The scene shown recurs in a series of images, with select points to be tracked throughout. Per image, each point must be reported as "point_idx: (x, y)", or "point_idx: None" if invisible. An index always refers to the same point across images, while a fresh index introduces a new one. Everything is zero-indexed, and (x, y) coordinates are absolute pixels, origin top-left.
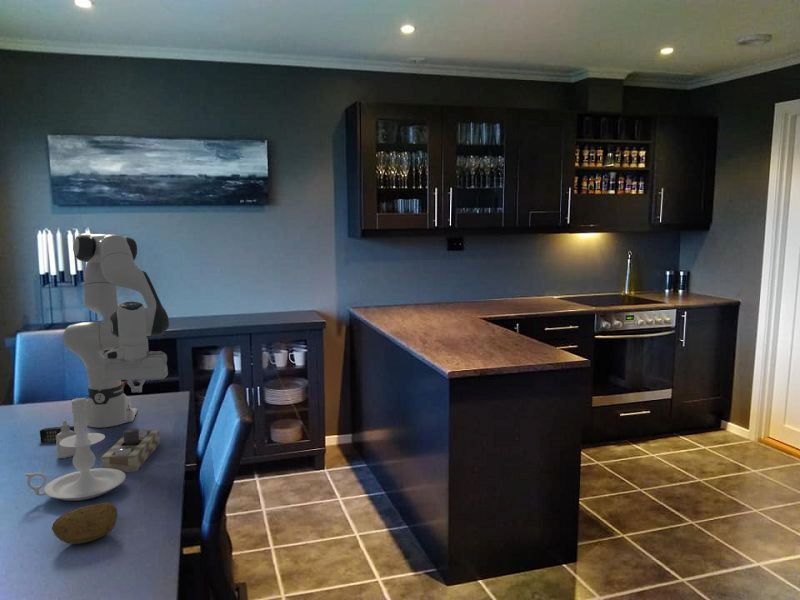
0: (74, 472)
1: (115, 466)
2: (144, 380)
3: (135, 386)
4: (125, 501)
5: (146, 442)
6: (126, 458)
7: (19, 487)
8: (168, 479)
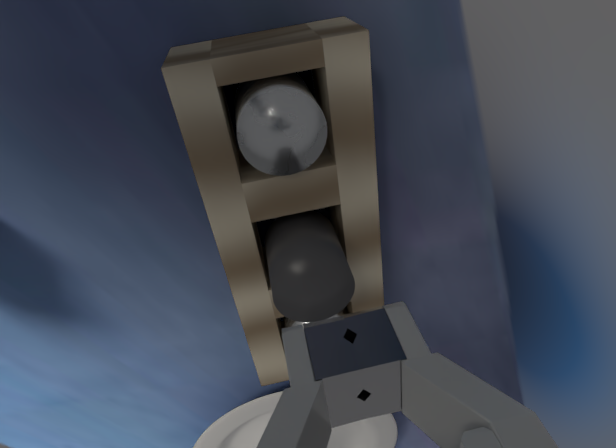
0: (217, 429)
1: None
2: (538, 441)
3: (338, 385)
4: (411, 434)
5: (375, 237)
6: None
7: (63, 443)
8: (485, 337)
